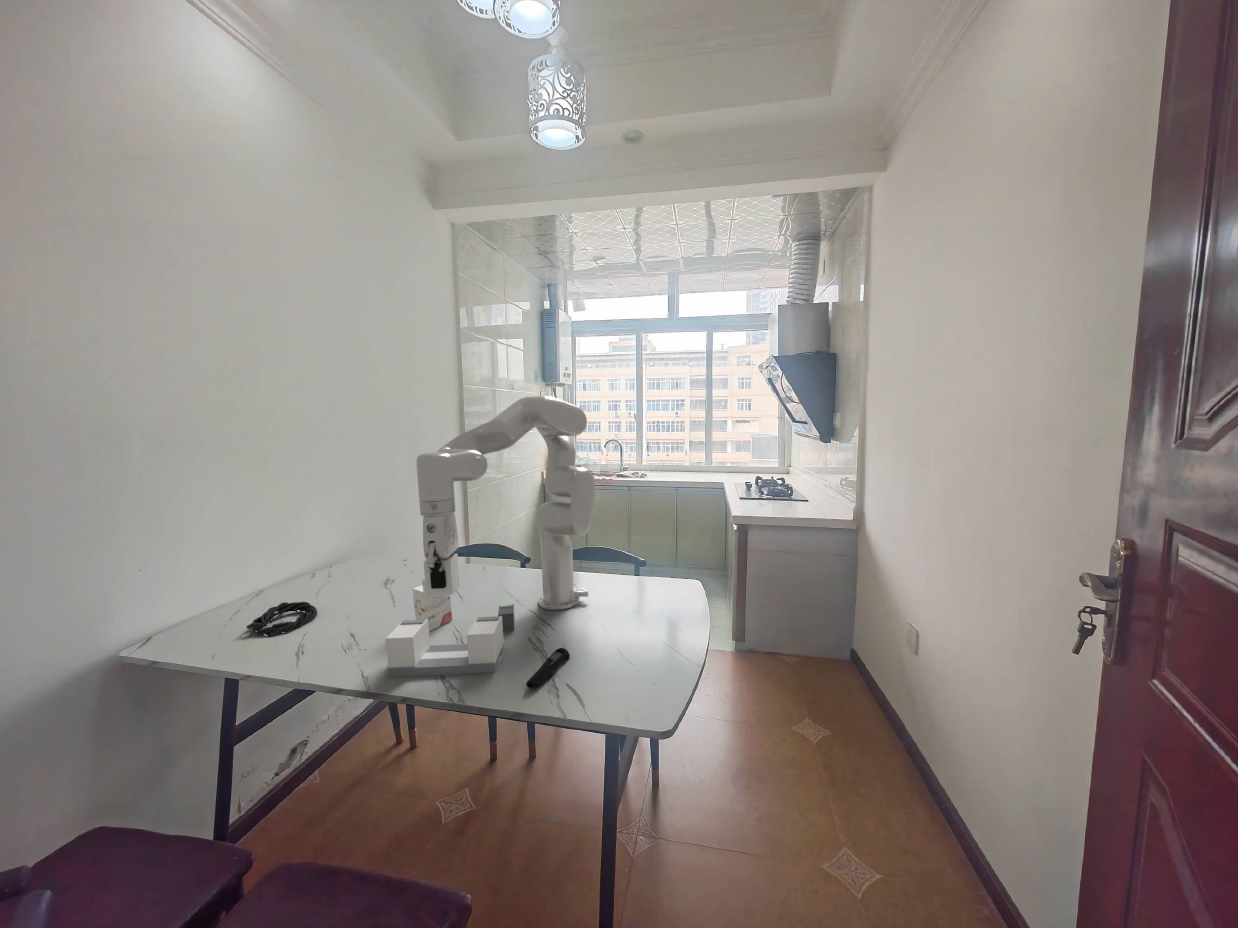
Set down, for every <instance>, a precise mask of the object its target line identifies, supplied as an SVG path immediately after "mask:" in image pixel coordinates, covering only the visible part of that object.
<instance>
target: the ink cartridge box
mask: <svg viewBox="0 0 1238 928" xmlns="http://www.w3.org/2000/svg"><path fill="white" fill-rule="evenodd" d="M421 584H422V585H419V586H417V587H414V588H412V594H413V595H412V596H413V605H414V615H415V616H414V617H415V620H426V619H428V626H429V632H431V631H433V630H435V629H437V628H440V627H441V626H443V625H445V624H447V623H450V622H451V621H453V614H452V603H451V602H452V601H451V600H452V599H451V595H426V586H425V579H423V580H422V581H421Z"/></svg>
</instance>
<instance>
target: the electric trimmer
mask: <svg viewBox="0 0 1238 928" xmlns="http://www.w3.org/2000/svg"><path fill="white" fill-rule="evenodd" d="M570 656H571V654H570V652H569V651H568V650H567V649H566V648H564V647H558V648H556V649H555V650H554V651H553V652H552V654H551V655H550V656H548V658H547V659H546V660H544V662H543V664H542V665H541V666H540V667H539V668H538V669H537V670H536V672H535V673H533V675H532V676H531V677H530V678H529V679H528V680H527V682H526V687H527V688H530V689H534V690H536V689H538V688H540V686H542V685H543V684H545V683H546V682H547V681H548V680H549V679H551V678H552V677H553V676H554V674H555V670H557V669H558V667H559V666H560V665H562V664H563V662H565V660H569V659H570Z"/></svg>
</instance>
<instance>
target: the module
mask: <svg viewBox="0 0 1238 928" xmlns="http://www.w3.org/2000/svg"><path fill="white" fill-rule="evenodd" d="M458 556H459V555H458V553H456V552H453V553H452V554H451V555H450V556H449V557H448V558H446V559H444V564H443V570H445V576H446V587H445V588H439V589H432V588H431V579H430V572H429V567H428V565H427V564H426V561H427V559H426V558H425V559H424V561H423V571H424V580H425V586H426V595H450V596H453V595H454V594H455V593H456V591H457V590H458V589H459V588H460V586H461V585H460V575H459V574H460V573H459V571H460V570H459V559H458V558H459V557H458ZM438 557H440V556H439V555H435V558H438ZM435 562H438V564H439V560H435Z"/></svg>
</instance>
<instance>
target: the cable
mask: <svg viewBox="0 0 1238 928" xmlns="http://www.w3.org/2000/svg"><path fill="white" fill-rule="evenodd" d="M297 610H300V611H305V612H300V613H299V616H297V617H296V619H295V621H285V622H278V623H273V624H272V625H267V624H268V623H269V622H271V621H272V620H273V619H275V620H277V619H279V617H280V616H282V615H283V614H286V613H289V612H291V611H297ZM317 616H318V610H317V608H316V607H315V606H314V605H313V604H311V603H309V602H307V601H300V602H297V601H294V602H280V603H279V604H278V605H276V606H272V607H270V608H268V609H267V610H266V611H265V612H263V614H262V615H260V616H258V617H257V618H255V619H253V621H252V623H250V624H247V626H246V629H248V630H251V629H253V630H252V631H254V632H256V631H257V632H258V634H259V635H263V634H266V635H270V636H273V634H275V635H278V634H277V633H282V632H287V633H289V632H291V631H293V630H294V628H295V629H297V627H298V628H299V627H302V626H303V625H304V624H307V623H309V622H308V621H310V622H311V620H312V621H313V620H315V618H316V617H317ZM271 619H272V620H271ZM273 621H274V620H273ZM273 621H272V622H273ZM272 622H271V623H272ZM306 622H307V623H306ZM257 632H256V633H257Z"/></svg>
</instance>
